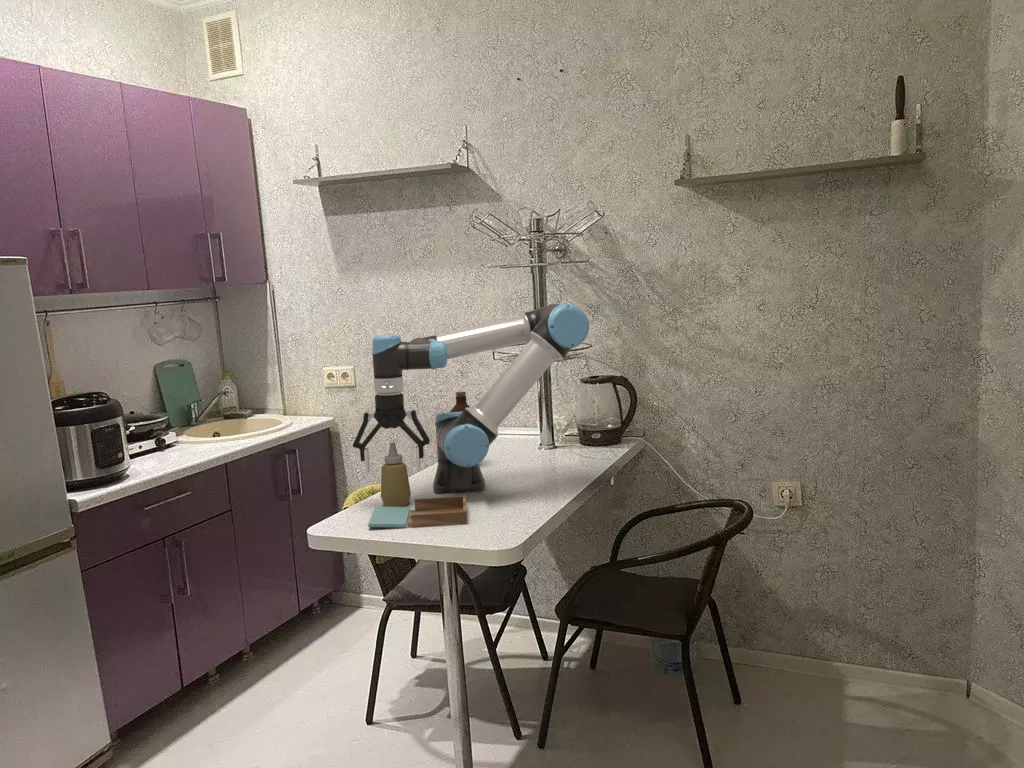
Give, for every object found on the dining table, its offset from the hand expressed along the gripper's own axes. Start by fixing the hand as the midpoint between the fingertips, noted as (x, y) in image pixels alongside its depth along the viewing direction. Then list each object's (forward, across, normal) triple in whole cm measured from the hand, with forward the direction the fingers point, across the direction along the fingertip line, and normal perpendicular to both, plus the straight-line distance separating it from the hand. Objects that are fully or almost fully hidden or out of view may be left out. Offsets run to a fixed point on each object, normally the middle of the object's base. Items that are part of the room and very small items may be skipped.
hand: (393, 471), depth 205 cm
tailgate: (+9, +5, -14) cm, 17 cm away
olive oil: (+10, +20, +45) cm, 50 cm away
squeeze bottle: (+10, 0, 0) cm, 10 cm away
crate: (+10, +12, -14) cm, 21 cm away
